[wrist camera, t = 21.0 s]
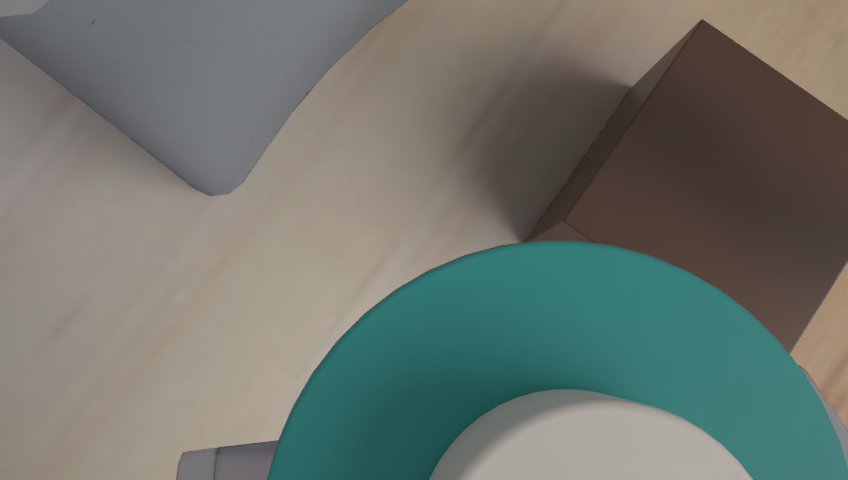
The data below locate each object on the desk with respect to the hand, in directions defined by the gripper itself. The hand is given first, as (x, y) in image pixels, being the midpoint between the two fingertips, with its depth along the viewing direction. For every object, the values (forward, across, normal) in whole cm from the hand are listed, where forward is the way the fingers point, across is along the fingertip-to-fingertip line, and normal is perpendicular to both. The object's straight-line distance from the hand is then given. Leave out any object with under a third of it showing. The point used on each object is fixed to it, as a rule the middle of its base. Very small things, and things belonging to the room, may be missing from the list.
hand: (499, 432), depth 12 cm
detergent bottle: (+4, 0, -5) cm, 6 cm away
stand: (+23, +13, -15) cm, 31 cm away
